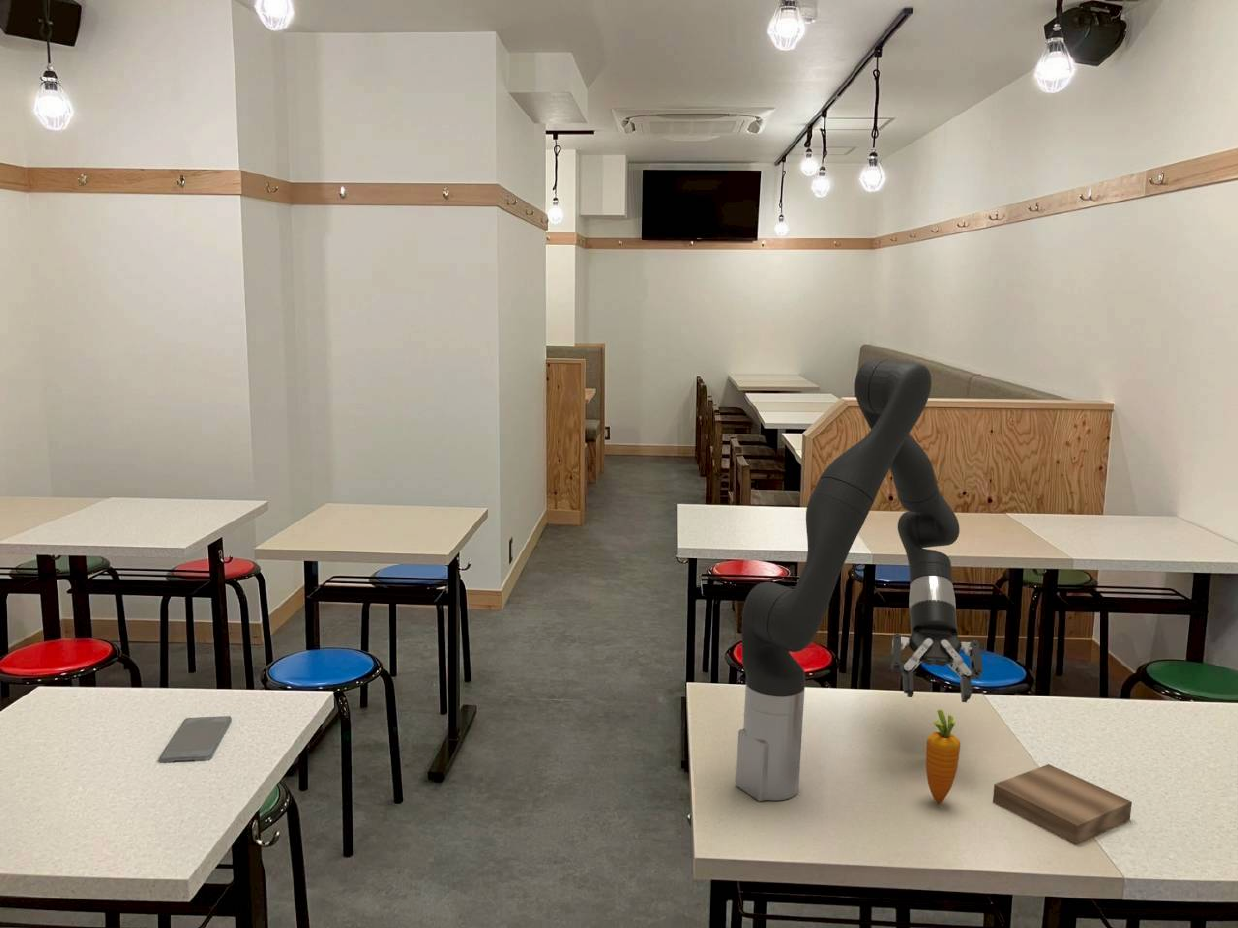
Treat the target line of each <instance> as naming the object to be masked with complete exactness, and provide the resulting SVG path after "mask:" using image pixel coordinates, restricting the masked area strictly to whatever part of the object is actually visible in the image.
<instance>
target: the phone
mask: <svg viewBox="0 0 1238 928" xmlns="http://www.w3.org/2000/svg"><path fill="white" fill-rule="evenodd" d="M232 722H233V718H232V716H231V715H230V716H229V715H227V716H226V715H223V716H204V717H187V718H185V719H183V721H182V722H181V724H180V726H179V727H178V729H177V730H176V731H175V733H173V735H172V737H171V739H170V740H169V742H168V743H167V745H166V747H165V748H164V749H163V750H162V752H161V753H160V755H159V758H158V760H159V763H161V764H165V763H166V764H167V763H169V764H170V763H175V761H178V762H187V761H192V760H194V762H207V761H210V760H211V759H212V758H213V757H214V755H215V753H216V751H217V749H218V748H219V746H220V744H221V743H222V740H223V738H224V736H225V735H226V733H227V732H228V729H229V728H230V726H231V724H232Z"/></svg>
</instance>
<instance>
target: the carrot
mask: <svg viewBox="0 0 1238 928" xmlns="http://www.w3.org/2000/svg"><path fill="white" fill-rule="evenodd" d="M937 714H938V718H939V720H940V722H939V721H937V720H936V721H934V722H933V724H934V726H935V727H937V729H938V731H934V732H931V734H930V735H929V736H928V738H927V740H926V748H925V749H926V751H925V769H926V770H925V771H926V778H927V784H928V787H929V790H930V792H931V795H932V797H933V799H934V801H935V803H937V804H938V805H940V804H941V803H942V802H943V801H944V800H945V798H946V797H947V795H948V794H949V792H950V791H951V788H952V786H953V783H954V781H955V778H956V774H957V771H958V767H959V759H960V751H961V741H960V740H959V738H957V737H956V736H955V735H954V734H953V733H951V732H952V730H953V728H954V726H955V725H956V722H955V721H954V717H953V716H952V715H951V714H949V715H948V717H947V720H946V716H945V713H944V711H943V709H940V708H939V709H938V710H937Z"/></svg>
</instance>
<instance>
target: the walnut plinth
mask: <svg viewBox="0 0 1238 928" xmlns="http://www.w3.org/2000/svg"><path fill="white" fill-rule="evenodd" d="M992 803H993V804H995V805H996V804H997V805H998V806H1000V807H1002V808H1004V809H1006V810H1007V811H1009V812H1011V813H1014V814H1015V815H1017V816H1018V817H1021V818H1023V819H1025V820H1027V821H1028V822H1030V823H1032V824H1034V825H1037V826H1039V827H1040V828H1042V829H1044V830H1047V832H1049V833H1052V834H1054V835H1056V836H1057V837H1060V838H1062V839H1064V840H1066V841H1067V842H1069V843H1071V844H1073V845H1075V846H1077V845H1079V844H1081V843H1082V842H1085V841H1087V840H1090V839H1092V838H1094V837H1096V836H1098V835H1100V834H1102V833H1104V832H1106V831H1109V830H1111V829H1113V828H1116V827H1118V826H1120V825H1123V824H1125V823H1126V822H1128V821H1130V819H1131V812H1132V804H1133V801H1132V800H1129V799H1127V798H1125V797H1123V796H1120V795H1118V794H1115V793H1113V792H1112V791H1109V790H1107V789H1105V788H1102V787H1100V786H1098V785H1096V784H1094V783H1091V782H1089V781H1087V780H1085V779H1083V778H1080V777H1078V776H1076V775H1074V774H1071V773H1069V772H1068V771H1065V770H1063V769H1061V768H1058V767H1056V766H1054V765H1052V764H1049V763H1047V764H1045V765H1042V766H1039V767H1037V768H1034V769H1031V770H1028V771H1027V772H1023V773H1021V774H1018V775H1016V776H1012V777H1011V778H1007V779H1004V780H1002V781H1000V782H996V783H994V787H993V797H992Z"/></svg>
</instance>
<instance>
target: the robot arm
mask: <svg viewBox="0 0 1238 928" xmlns="http://www.w3.org/2000/svg"><path fill="white" fill-rule="evenodd" d="M931 390H932V375H931V372H930V370H929V369H928V368H927V367H926V366H925V365H924V364H921V363H917V362H912V361H904V360H897V359H888V358H871V359H868V360H866V361H865V362H863V363H862V364H861V365H860V367H859V368H858V370H857V372H856V375H855V379H854V395H855V399H856V403H857V405H858V407H859V409H860V411H861V413H862V415H863V417H864V419H865V421H866V423H867V426H868V427H869V429H870V430H869V432H868V433H867V434H866V435H865V436H864V437H863V438H861V439H860V440H859V441H858V442H856V443H855V444H854V445H853V446H851V447H850V448H848V449H847V450H845V451H844V452H842V453H841V454H840V455H839V456H838V457H836V458H835V459H834V460H832V462H831V463H830V464H829V465H827V466H826V468H825V469H824V471H822V474H821V475H820V477H819V479H818V481H817V482H816V484H815V487H814V489H813V491H812V493H811V495H810V497H809V500H808V502H807V504H806V508H805V509H806V510H805V528H806V539H807V540H806V541H807V556H806V560H805V563H804V566H803V569H802V571H801V573H800V576H799V577H798V581H797V582H796V585H795V586H794V588H790V587H789V586H785V585H782V584H779V583H775V582H771V581H764V582H760V583H758V584H756V585H755V586H753V587H752V589H750V591H749V592H748V594H747V596H746V598H745V602H744V603H743V604H744V605H743V609H742V615H741V664H742V668H743V671H744V673H745V689H744V690H745V692H744V703H743V704H744V706H743V727H742V728H740V729H738V731H737V748H736V750H737V751H736V765H735V766H736V767H735V769H736V771H735V786H736V787H738V788H739V789H740V790H742V791H744V792H745V793H747V794H748V795H749V796H751V797H752V798H754V799H755V800H757V801H758V802H763V801H783V800H789V799H791V798H793V797H795V796H796V795H797V794H798V793H799V786H800V785H799V784H800V772H801V770H800V768H801V752H802V751H801V750H802V735H803V733H802V732H803V717H804V703H805V690H806V689H805V685H806V672H805V670H804V668H803V666H802V665H801V664H800V663H799V662H797V660H796V659H795V658H794V657H793V655H792V654H791V653H790V652H792V653H798V652H801V651H803V650H805V649H806V648H807V647H808V646H809V645H810V644H811V643H812V642H813V641H814V639H815V637H816V636H817V633H818V632H819V629H820V628H821V625H822V623H823V620H824V618H825V615H826V612H827V609H828V607H829V604H830V601H831V598H832V595H833V593H834V590H835V587H836V584H837V582H838V579H839V576H840V574H841V572H842V569H843V567H844V564H845V563H846V560H847V558H848V556H849V554H850V552H851V550H852V547H853V544H854V543H855V541H856V539H857V536H858V534H859V533H860V530H861V529H862V526H863V525H864V524H865V521H866V519H867V517H868V515H869V513H870V511H871V509H872V506H873V504H874V502H875V500H876V498H877V495H878V494H879V491H880V489H881V487H882V484H883V482H884V480H885V479H886V477H887V474H888V472H889V471H890V473H891V476H892V481H893V483H894V486H895V487H894V488H895V490H896V494H897V498H898V500H899V503H900V505H901V507H902V508H903V509H904V510H906V511H905V512H904V513H902V514H901V516H900V517H899V519H898V521H897V532H898V536H899V538H900V540H901V543H902V545H903V548H904V550H905V553H906V556H907V560H908V565H909V566H908V567H909V581H910V583H909V584H910V590H909V603H908V607H909V617H910V636H909V637H907V636H902V635H901V634H900V633H898V632H897V633H894V634H893V637H892V641H891V654H890V656H891V657H890V661H891V662H890V670H891V671H892V672H894V673H896V672H898V673H899V674H901V676H902V691H903V693H904V694H906V695H907V698H913V696H914V694H915V693H914V691H915V690H914V689H915V688H914V670H915V669H917V668H918V666H919V665H920V664H921V663H922V664H924V665H925V666H933V665H935V666H938V667H945V666H948V667H949V668H950V669H951V671H952V672H954V673H955V674H956V675H957V676H958V677H959V678H960V680H959V681H960V684H959V685H960V697H961V702H962V703H967V702H968V701H969V700H970V699H971V698H972V695H973V685H972V680H978V679H980V678H981V675H982V674H983V671H984V668H983V661H982V656H981V649H980V643H979V641H978V640H977V639H971V641H961V639H960V637H959V633H958V620H957V609H956V606H957V604H956V596H955V591H954V587H953V586H954V585H953V576H952V575H953V574H952V573H953V572H952V564H951V560H950V557H949V556H948V555H947V554H945V553H944V552H941V551H938V550H933V549H928V548H937V547H946V546H950V545H953V544H955V542H956V541H957V540H958V538H959V535H960V531H961V530H960V529H961V528H960V523H959V519H958V517H957V516H956V514H955V512H954V510H953V509H952V508H951V507H950V506H949V503H948V501H946V500H945V498H944V496H943V495H942V493H941V491H940V488H939V485H938V481H937V477H936V473H935V470H934V466H933V464H932V461H931V458H930V457H929V456H928V455H927V453H926V452H925V450H924V449H923V447H922V446H921V445H920V444H919V443H918V442H917V441H916V440H915V438H914V437H913V436H912V435H911V434H910V433H911V432H912V430H913V429H914V426H915V425H916V423H917V422H918V420H919V419H920V417H921V416H922V413H923V411H924V409H925V407H926V405H927V403H928V400H929V398H930V394H931V392H932V391H931ZM906 646H908V647H909V648H910V649H911V650H912V652H913V654H912V655H911V656H910V658H909V659H908V660H907V661H906V663H904V662H902V661H901V651H903V650H904V649H906V648H905V647H906ZM961 650H963V652H964V653H965V655H966V656H969V662H970V667H968V665H967V664H966V663H965V661H964V659H963V658H962V656H961V655H960V654H959V652H960V651H961Z"/></svg>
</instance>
